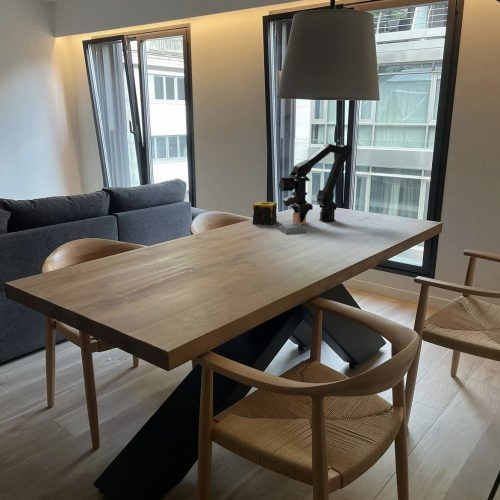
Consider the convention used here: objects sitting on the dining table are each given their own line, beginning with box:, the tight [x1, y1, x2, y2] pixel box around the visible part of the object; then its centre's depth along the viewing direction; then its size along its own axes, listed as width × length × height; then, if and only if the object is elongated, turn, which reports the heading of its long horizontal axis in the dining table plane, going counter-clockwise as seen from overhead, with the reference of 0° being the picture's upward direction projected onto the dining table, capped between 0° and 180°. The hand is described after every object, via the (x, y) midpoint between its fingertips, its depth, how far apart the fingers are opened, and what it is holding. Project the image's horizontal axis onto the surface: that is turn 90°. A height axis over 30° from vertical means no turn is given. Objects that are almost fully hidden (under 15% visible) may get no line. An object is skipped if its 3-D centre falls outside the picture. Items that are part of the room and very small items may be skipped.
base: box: [277, 223, 307, 235], centre depth 230 cm, size 10×10×2 cm
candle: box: [252, 201, 278, 226], centre depth 247 cm, size 10×10×10 cm
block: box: [292, 212, 307, 225], centre depth 246 cm, size 5×5×5 cm
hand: (299, 221), depth 246 cm, fingers closed on block, 5 cm apart
